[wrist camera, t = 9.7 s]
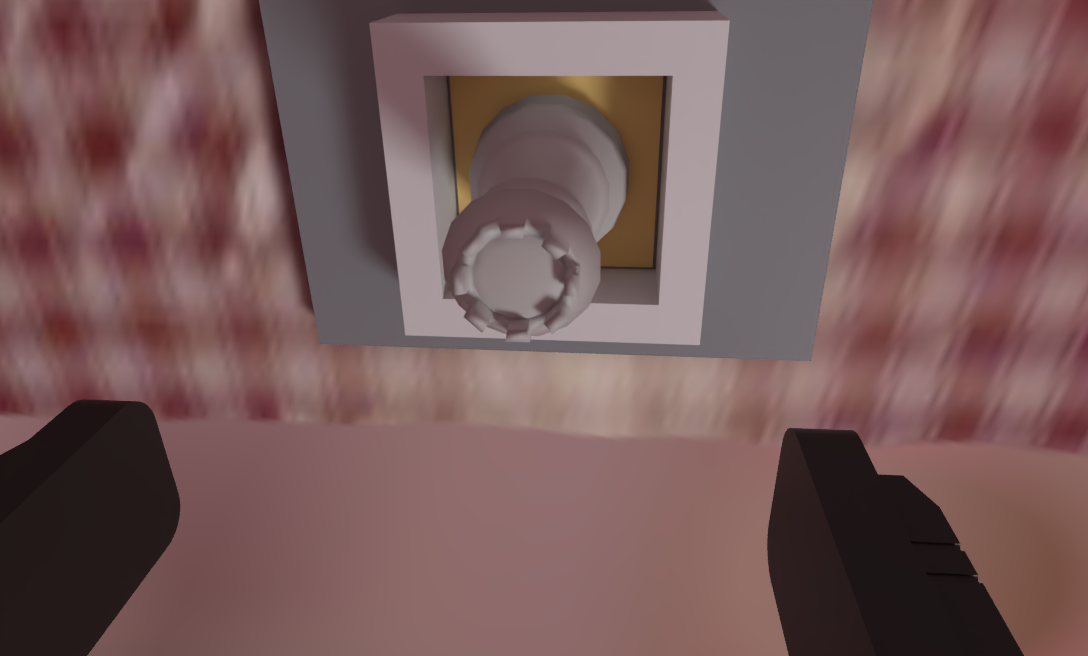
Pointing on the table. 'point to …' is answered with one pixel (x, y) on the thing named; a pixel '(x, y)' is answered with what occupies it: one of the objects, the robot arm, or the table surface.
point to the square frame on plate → (645, 130)
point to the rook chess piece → (536, 216)
